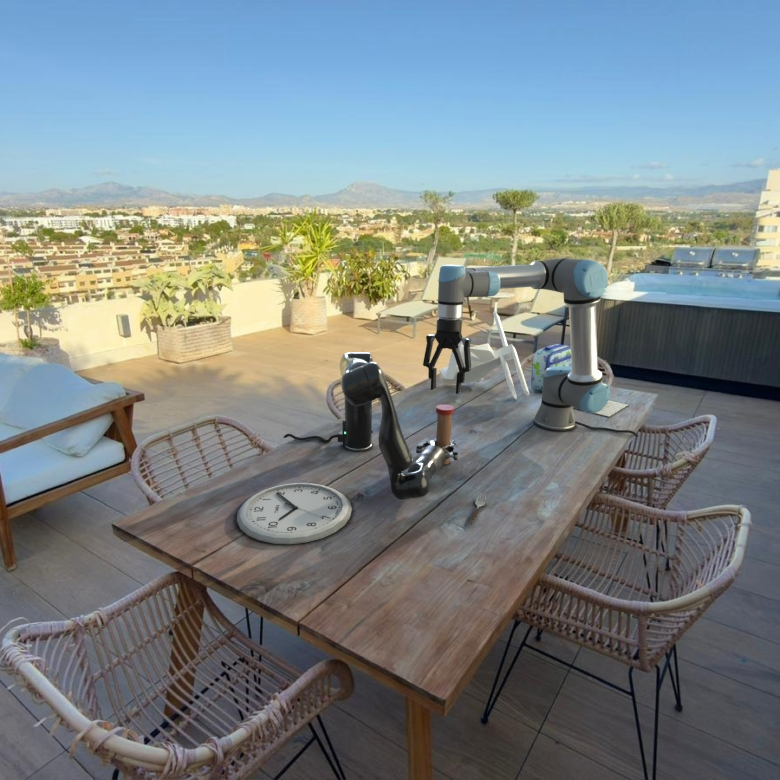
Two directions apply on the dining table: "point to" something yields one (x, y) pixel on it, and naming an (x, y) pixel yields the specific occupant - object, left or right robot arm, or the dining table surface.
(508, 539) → the dining table surface
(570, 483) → the dining table surface
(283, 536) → the wall clock
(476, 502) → the fork
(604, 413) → the invitation card
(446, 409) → the lid
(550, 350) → the lunch box
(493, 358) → the white plastic object
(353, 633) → the dining table surface
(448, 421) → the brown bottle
